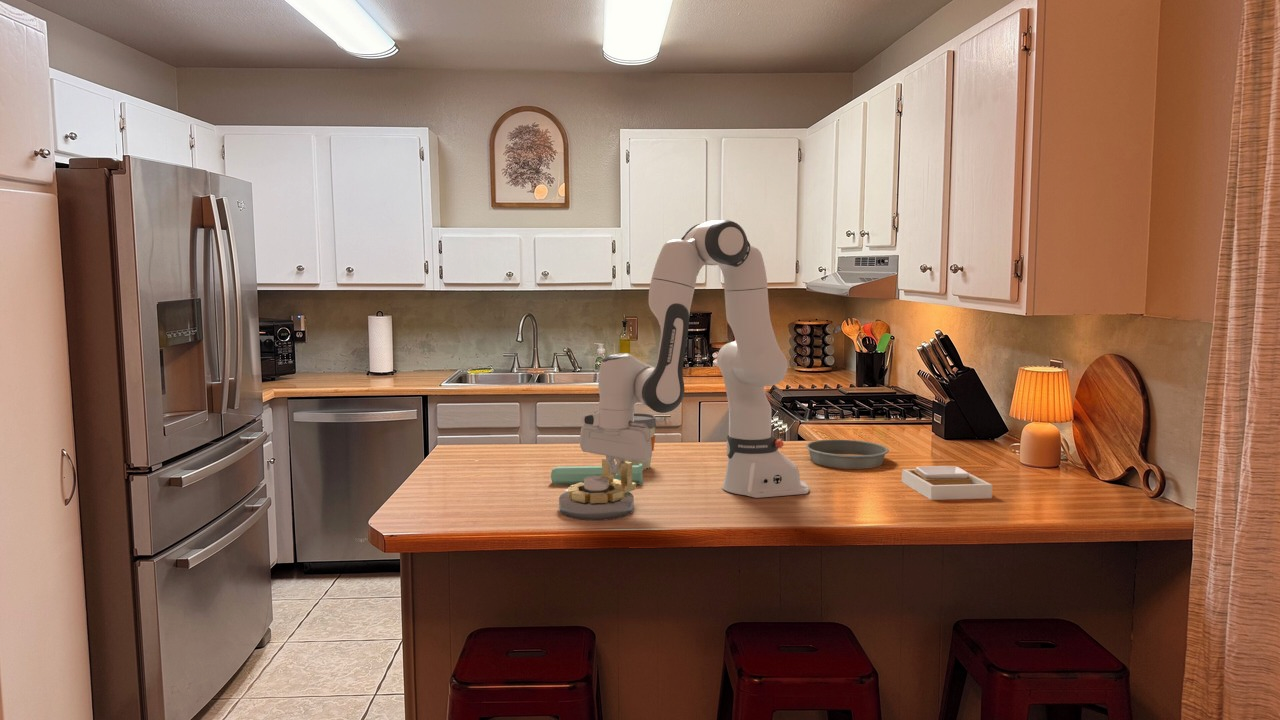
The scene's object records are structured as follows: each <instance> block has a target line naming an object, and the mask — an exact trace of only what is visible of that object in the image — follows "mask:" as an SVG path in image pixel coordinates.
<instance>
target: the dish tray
mask: <svg viewBox="0 0 1280 720" xmlns="http://www.w3.org/2000/svg"><path fill="white" fill-rule="evenodd" d="M914 470H916V468H909V469H908V468H906V469H901V483H903V484H904V485H906V486H907V487H909V488H910V489H912V490H914V491H916V492H917V493H919V494H920V495H922V496H924V497H926V498H927V499H929V500H930V501H937V500H938V501H939V500H942V501H943V500H972V499H973V500H975V499H977V500H978V499H992V498H993V484H992V483H989V482H988V481H986V480H984V479H982V478H979V477H977V476H975V475H974V474H972V473H969V476H968V477H970V478H971V479H972V482H971V484H960V485H932V484H931V483H929V482H927V481H925V480H923V479H922V478H920V477H918V476H916V475H915V474H914V472H913V471H914Z"/></svg>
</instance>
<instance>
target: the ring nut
mask: <svg viewBox="0 0 1280 720" xmlns="http://www.w3.org/2000/svg"><path fill="white" fill-rule="evenodd" d="M601 466H602V476H605V477H608V478H609V492H606V493H588V492H584V483H582V482H580V483H577V484H570V485H569V486H568V487H567V489H568V496H569V499H572V500H573V501H578V502H582V503H586V502H589V501H590V503H608V501H611V502H614V501H617V500H620V499H622V498H623V497H625V493H627V492H630V493H631V492H633V491H635V490H636V489H637V484H636V483H633V482H632V462H627V461H625V462H622V463H621V480H617V479H613V474H610V467H609V465H608V463H607V461H606V458H603V459H601Z"/></svg>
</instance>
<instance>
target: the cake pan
mask: <svg viewBox="0 0 1280 720" xmlns="http://www.w3.org/2000/svg"><path fill="white" fill-rule="evenodd" d="M805 448H806V449H807V450H808V453H809V457H810V461H811V462H813V463H814V464H817V465H819V466H823V467H829V468H837V469H846V470H851V469H852V470H853V469H854V470H858V469H859V470H861V469H862V470H863V469H871V468H872V469H873V468H876V467H879V466H882V464H883V463H884V458H885V456H886V455H887V454H888V453H889V451H890V450H889V448H888V447H886V446H884V445H882V444H879V443H876V442H875V443H874V442H870V441H866V440H864V441H863V440H854V439H821V440H814V441H810V442H808V443H806V445H805Z"/></svg>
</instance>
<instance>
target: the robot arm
mask: <svg viewBox="0 0 1280 720" xmlns="http://www.w3.org/2000/svg"><path fill="white" fill-rule="evenodd" d="M764 262H765V261H764V258H763V254H762V252H761V251H760V249H759V248H757V247H754V246H751V244H750V241H749V240H748V237H747V234H746V232H745V230H744V229H743V227H742V226H741V225H740V224H738V223H737V222H735V221H732V220H729V219H721V220H717V219H715V220H714V219H713V220H708V221H705V222H704V223H697V224H695V225H694V226H692V227H690V228H689V229H688V230H687V231H686V232H685V234H684V235H683V236H682V237H681V239H671V240H669V241H667V242H665V243H664V244H663V246H662V247H661V249H660V252H659V254H658V256H657V260H656V262H655V266H654V268H653V271H652V276H651V280H650V284H649V288H648V306H649V309H650V311H651V312H652V313H653V315H654V316H655V318H656V319H657V321H658V325H659V327H660V337H659V339H660V340H659V345H658V352H657V356H656V357H657V358H656V363H655V364H656V365H655V366H653V365H650V364H648V363H647V364H646V363H645V362H643V361H641V360H640V359H637V358H636V357H634V356H633V355H632V354H631V353H627V352H626V353H625V352H623V353H622V352H621V353H614V354H609V355H608V356H605V357H604V358H603V359H602V360H601V362H600V366H599V372H598V387H597V389H598V393H599V402H598V404H597V410H596V411H594V412H593V413H590V414H589V413H588V414H585V415H582V416H581V423H582V426H581V428H580V434H579V447H580V449H581V451H582V452H583V453H589V454H595V455H599V456H600V455H601V456H605V459H606V461H607V463H608V465H609V467H610V474H614V475H620V474H621V463H622V462H625V459H628V460H634V461H640V462H644V461H648V460H650V458H651V459H652V456H653V451H652V444H651V430H650V428H649V427H648V426H647V425H646V424H645V423H638V422H634V411H635V404H639V403H640V404H642V405H644V406H647V407H648V408H649V409H650V410H652V411H654V412H656V413H660V414H665V413H669V412H672V411H674V410H676V409H677V408H678V407H679V406H680V404H681V403H682V401H683V400H684V397H685V382H684V377H683V371H684V370H683V369H684V368H683V367H684V362H685V355H686V349H687V348H686V347H687V341H688V336H689V335H688V334H689V327H690V316H691V315H690V314H691V313H690V312H691V306H692V303H693V298H694V293H695V288H696V284H697V277H698V275H699V273H700V271H701V269H702V268H703V267H704V266H718V267H719V268H720V270H721V273H722V275H723V286H724V302H725V317H726V321H727V324H728V325H729V326H730V328H731V331H732V333H733V336H734V341H730V342H727V343H725V344H723V345H722V347H721V348H720V349H719V351H718V352H717V357H716V363H717V367H718V369H719V371H720V372H721V374H722V375H721V376H722V379H723V383H724V387H725V392H726V397H727V404H728V405H727V406H728V435H727V437H726V438H727V439H726V456H727V464H726V471H725V475H724V480H723V484H722V486H721V487H722V489H723V490H724V491H725V492H728V493H731V494H736V495H742V496H748V497H752V498H757V499H761V498H769V497H771V498H772V497H773V498H774V497H782V496H793V495H794V496H795V495H806V494H808V493H809V491H810V489H809V488H810V487H809V485H808V484H807V483H806V482H805V481H803V480H801V477H800V471H799V469H798V466H797V465H796V463H795V462H793V461H792V460H791V459H790V458H789V457H787V455H785V454H783V453H782V452H781V451H779V449H782V448H783V447H784V445H785V444H784V441H783V440H781V439H778V438H776V437H775V436H773V435H772V411H773V410H772V406H771V403H770V401H769V400H768V397H767V394H766V391H765V388H766V387H771V386H775V385H777V384H779V383H781V382H782V381H783V379H785V377H786V375H787V374H788V373H787V371H788V369H789V368H788V360H787V358H786V355H785V354H784V352H783V351H782V350H781V348H780V346H779V344H778V340H777V338H776V335H775V331H774V328H773V325H772V320H771V316H770V315H771V314H770V305H769V291H768V279H767V277H768V276H767V271H766V267H765V263H764ZM645 427H647V428H645Z"/></svg>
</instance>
